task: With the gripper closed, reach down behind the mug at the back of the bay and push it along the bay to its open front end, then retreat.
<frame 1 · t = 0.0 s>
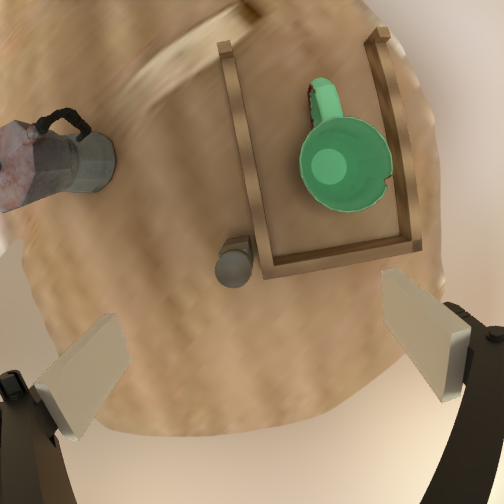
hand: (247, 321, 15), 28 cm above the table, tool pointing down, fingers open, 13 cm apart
bay: (323, 148, 39), on the table
mug: (323, 148, 40), on the table
moka pot: (92, 159, 41), on the table
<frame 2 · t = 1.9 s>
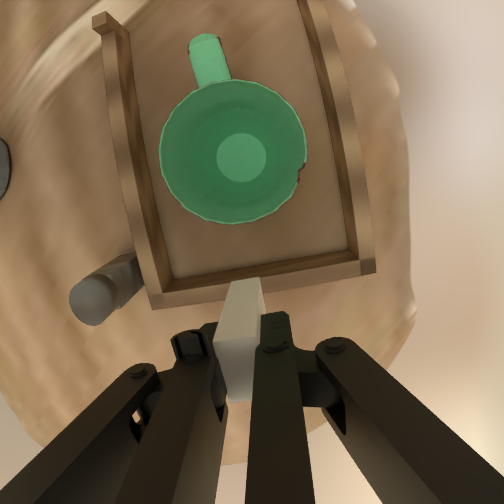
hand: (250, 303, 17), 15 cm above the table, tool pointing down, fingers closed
bay: (234, 133, 29), on the table
mug: (234, 134, 29), on the table
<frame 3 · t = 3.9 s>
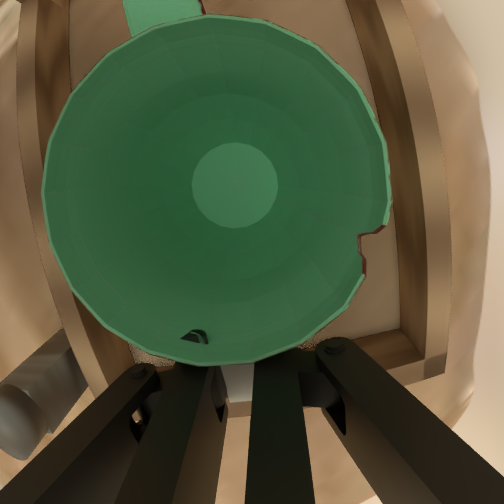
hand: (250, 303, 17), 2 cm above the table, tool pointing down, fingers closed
bay: (222, 143, 17), on the table
mug: (223, 144, 17), on the table, touching gripper
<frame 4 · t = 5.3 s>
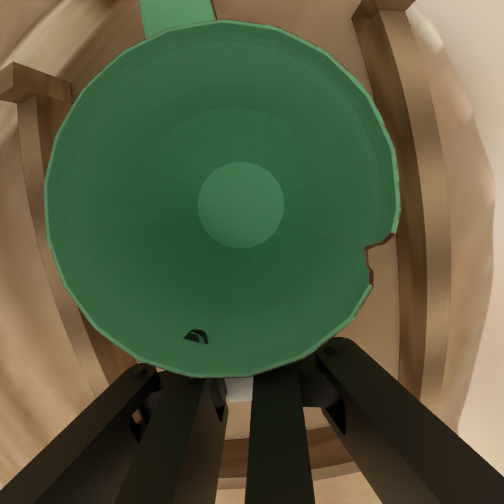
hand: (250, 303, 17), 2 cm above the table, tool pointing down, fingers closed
bay: (249, 276, 19), on the table
mug: (231, 163, 17), on the table, touching gripper
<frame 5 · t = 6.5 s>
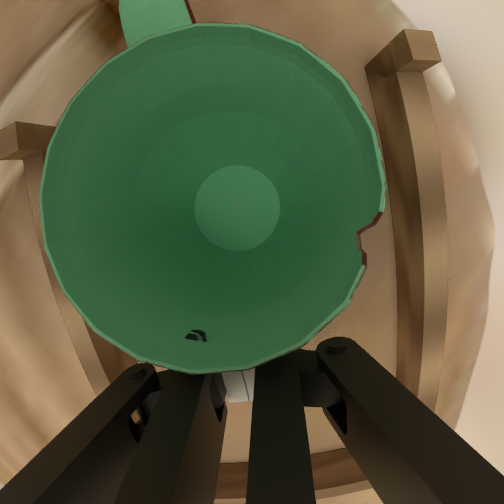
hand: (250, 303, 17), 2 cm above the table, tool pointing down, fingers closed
bay: (258, 327, 20), on the table
mug: (224, 167, 18), on the table, touching gripper
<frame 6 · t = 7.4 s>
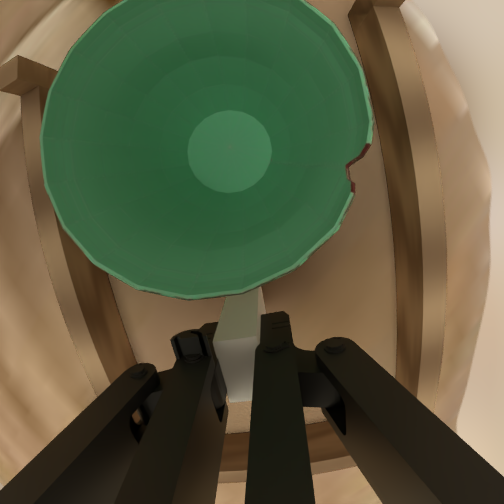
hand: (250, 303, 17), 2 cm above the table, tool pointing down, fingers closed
bay: (246, 267, 19), on the table
mug: (217, 113, 17), on the table
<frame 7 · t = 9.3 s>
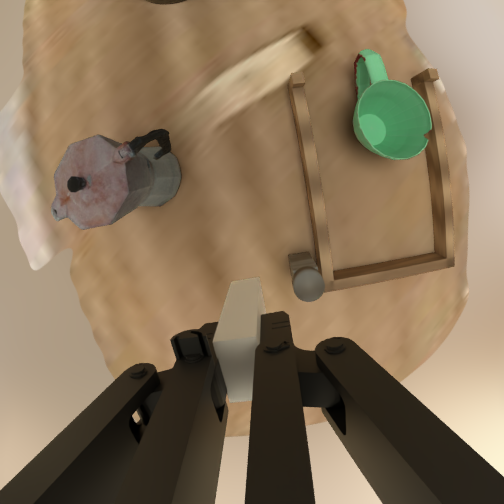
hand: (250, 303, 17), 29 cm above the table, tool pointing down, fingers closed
bay: (376, 175, 43), on the table
mug: (365, 114, 42), on the table
moka pot: (154, 173, 45), on the table
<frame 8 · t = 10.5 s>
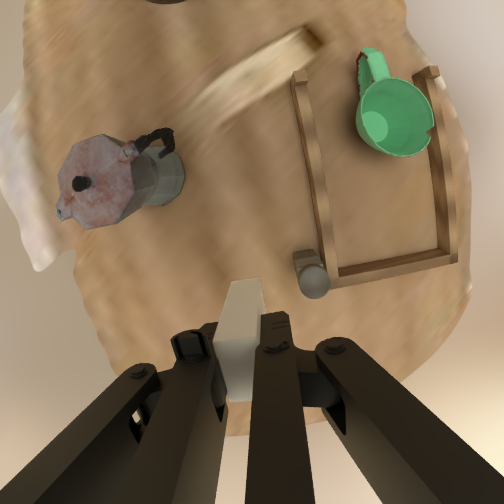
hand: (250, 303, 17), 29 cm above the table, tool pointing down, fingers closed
bay: (379, 172, 43), on the table
mug: (367, 111, 41), on the table
moka pot: (157, 173, 45), on the table
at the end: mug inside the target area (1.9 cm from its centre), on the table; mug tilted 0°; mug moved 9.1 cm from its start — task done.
